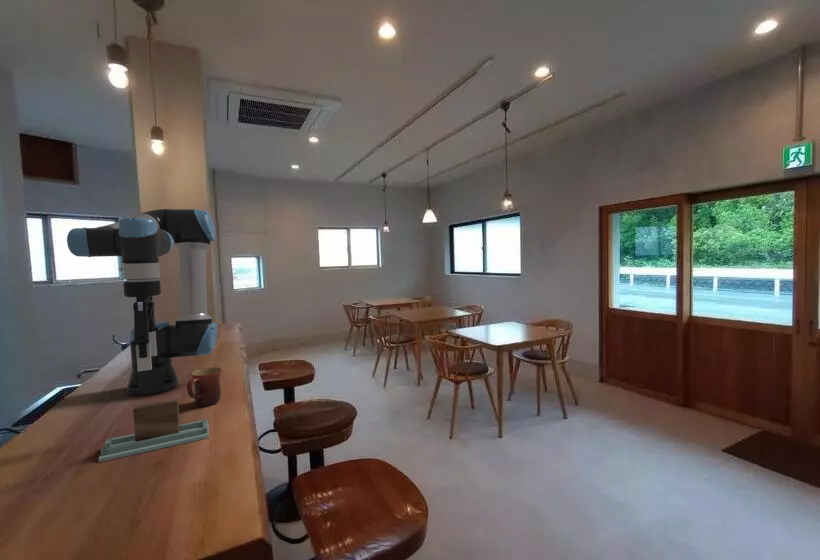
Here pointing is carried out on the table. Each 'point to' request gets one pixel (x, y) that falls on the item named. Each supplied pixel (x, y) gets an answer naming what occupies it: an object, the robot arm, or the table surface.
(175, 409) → the slider block
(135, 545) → the table surface
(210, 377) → the mug
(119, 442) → the track base
